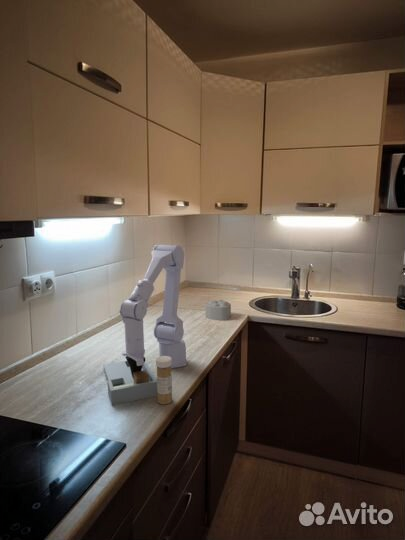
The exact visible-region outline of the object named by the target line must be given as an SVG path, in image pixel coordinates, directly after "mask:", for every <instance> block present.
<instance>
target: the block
mask: <svg viewBox="0 0 405 540" xmlns="http://www.w3.org/2000/svg"><path fill="white" fill-rule="evenodd" d="M133 376H134V385H135V384H140V383H145V382H149V374H148V373H147V371H146V370H143V371H138V372H133Z"/></svg>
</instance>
